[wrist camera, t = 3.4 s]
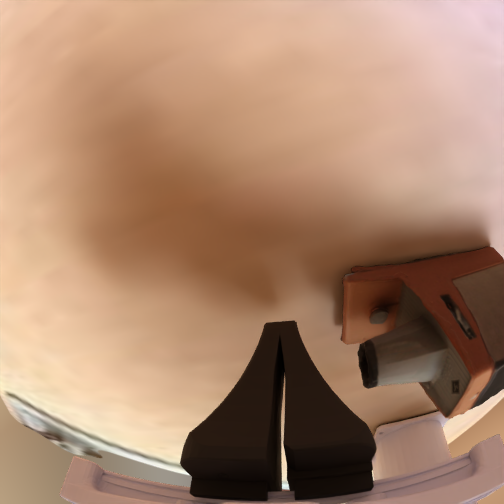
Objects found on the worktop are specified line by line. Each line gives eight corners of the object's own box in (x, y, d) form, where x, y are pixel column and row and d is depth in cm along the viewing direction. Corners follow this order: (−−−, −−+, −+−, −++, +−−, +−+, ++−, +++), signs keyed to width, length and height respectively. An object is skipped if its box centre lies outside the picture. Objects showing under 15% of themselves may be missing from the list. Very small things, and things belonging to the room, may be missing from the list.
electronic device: (337, 263, 14) (379, 395, 8) (492, 240, 13) (571, 324, 6) (337, 329, 16) (362, 450, 10) (476, 301, 15) (532, 389, 8)
